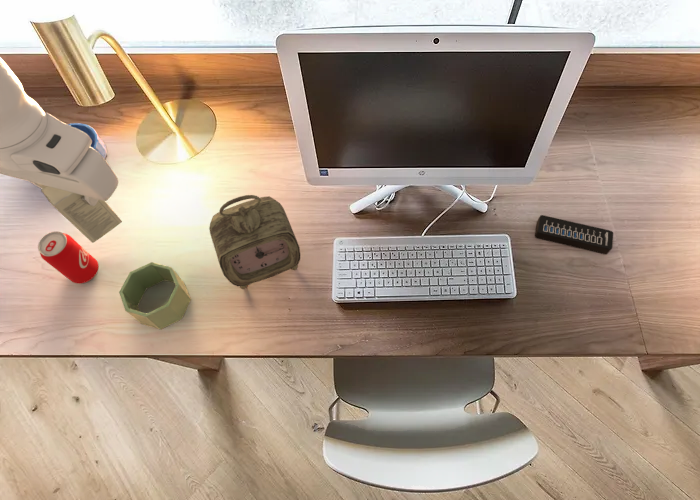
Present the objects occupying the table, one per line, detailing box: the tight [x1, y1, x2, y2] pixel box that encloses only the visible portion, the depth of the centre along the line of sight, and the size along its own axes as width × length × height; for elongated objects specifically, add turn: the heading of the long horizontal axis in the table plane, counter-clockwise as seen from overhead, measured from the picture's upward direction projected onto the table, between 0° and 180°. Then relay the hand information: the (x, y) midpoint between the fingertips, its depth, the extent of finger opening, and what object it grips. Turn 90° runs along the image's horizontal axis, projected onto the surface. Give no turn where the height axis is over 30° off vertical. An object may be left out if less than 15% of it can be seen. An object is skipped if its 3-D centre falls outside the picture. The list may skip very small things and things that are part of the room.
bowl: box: [66, 122, 108, 160], centre depth 114 cm, size 13×13×5 cm
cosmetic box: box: [40, 186, 123, 244], centre depth 81 cm, size 6×4×12 cm
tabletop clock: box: [208, 194, 301, 290], centre depth 90 cm, size 14×9×25 cm, turn 112°
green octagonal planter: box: [118, 261, 192, 330], centre depth 95 cm, size 10×10×7 cm
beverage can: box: [37, 231, 100, 285], centre depth 97 cm, size 6×6×12 cm
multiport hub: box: [534, 214, 614, 255], centre depth 100 cm, size 4×14×2 cm, turn 73°
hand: (74, 196), depth 79 cm, fingers closed on cosmetic box, 6 cm apart
